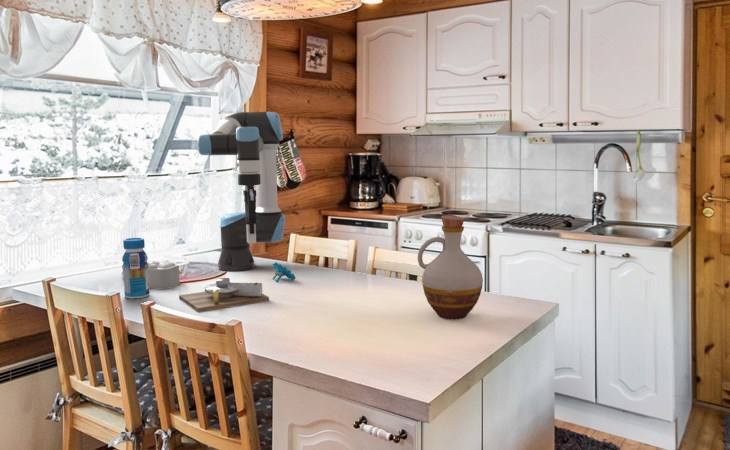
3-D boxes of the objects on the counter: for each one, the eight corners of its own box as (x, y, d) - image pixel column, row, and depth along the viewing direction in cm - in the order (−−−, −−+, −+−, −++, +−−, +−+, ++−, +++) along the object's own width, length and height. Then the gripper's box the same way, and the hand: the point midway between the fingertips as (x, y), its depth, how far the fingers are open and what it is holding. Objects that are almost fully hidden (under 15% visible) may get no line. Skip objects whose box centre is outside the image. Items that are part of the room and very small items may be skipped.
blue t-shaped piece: (300, 277, 227) (281, 261, 223) (291, 290, 225) (272, 273, 221) (288, 276, 236) (270, 260, 232) (279, 288, 234) (260, 272, 230)
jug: (409, 320, 176) (409, 218, 172) (425, 305, 193) (425, 212, 188) (476, 327, 169) (477, 221, 165) (487, 310, 186) (488, 214, 182)
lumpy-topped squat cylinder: (165, 289, 218) (164, 265, 217) (136, 287, 222) (134, 263, 221) (183, 283, 228) (182, 260, 227) (154, 280, 232) (153, 258, 231)
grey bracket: (199, 297, 197) (198, 283, 196) (212, 289, 209) (212, 275, 208) (255, 299, 195) (255, 284, 194) (266, 290, 207) (265, 276, 206)
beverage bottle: (118, 298, 206) (114, 240, 203) (136, 292, 214) (132, 236, 211) (138, 300, 203) (134, 241, 200) (155, 294, 211) (152, 237, 208)
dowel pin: (213, 303, 193) (212, 290, 192) (217, 302, 194) (217, 289, 193) (214, 304, 191) (214, 291, 191) (219, 304, 192) (219, 290, 192)
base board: (179, 298, 204) (178, 289, 204) (246, 288, 217) (245, 280, 217) (197, 311, 188) (197, 302, 187) (269, 300, 201) (268, 291, 200)
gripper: (235, 172, 208) (238, 239, 212) (239, 174, 194) (242, 246, 197) (257, 172, 211) (259, 238, 214) (263, 173, 196) (265, 245, 199)
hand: (251, 242), depth 205 cm, fingers open, 2 cm apart
